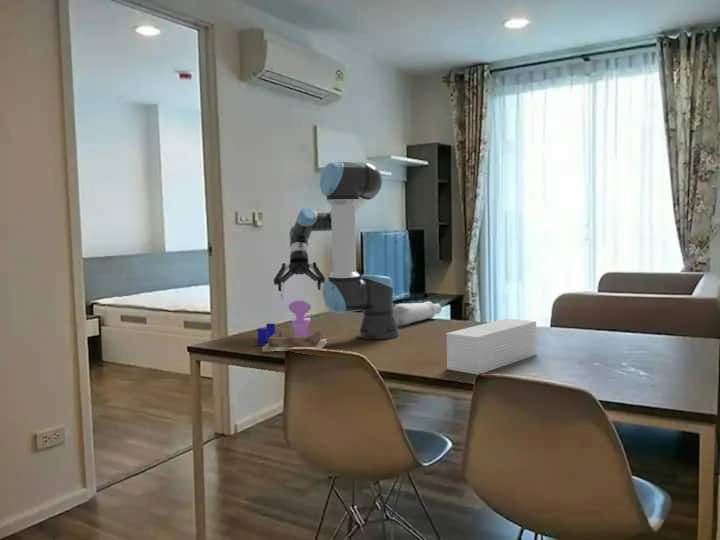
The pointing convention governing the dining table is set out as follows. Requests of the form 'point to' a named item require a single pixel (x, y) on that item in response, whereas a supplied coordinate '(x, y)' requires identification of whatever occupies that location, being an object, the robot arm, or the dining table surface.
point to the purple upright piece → (300, 318)
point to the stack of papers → (491, 345)
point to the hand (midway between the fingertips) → (299, 296)
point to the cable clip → (265, 334)
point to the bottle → (414, 312)
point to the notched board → (293, 342)
